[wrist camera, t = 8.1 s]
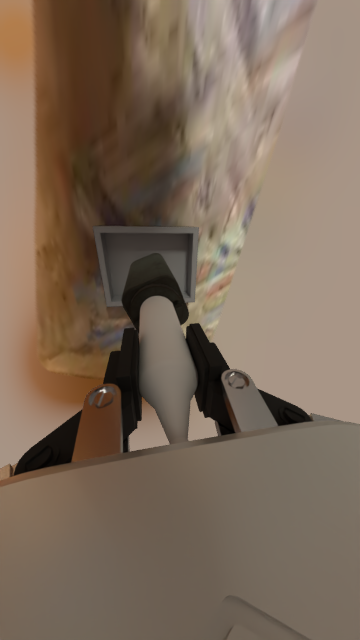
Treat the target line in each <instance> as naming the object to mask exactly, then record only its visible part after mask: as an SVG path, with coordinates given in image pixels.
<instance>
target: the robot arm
mask: <svg viewBox="0 0 360 640" xmlns="http://www.w3.org/2000/svg"><path fill="white" fill-rule="evenodd" d="M186 342H187V344H188V347H189V350H190V353H191V355H192V358H193V361H194V364H195V366H196V369H197V372H198V386H197V388H196V391H195V393H194V395H195V398H196V402H197V405H198V408H199V411H200V412H202V411H203V414H204V417H205V418H207V417H210V418H212V419H213V420H215V426H216V429H217V433H218V436H217V437H211V438H205V439H200V440H194V441H188V442H182V443H176V444H171V445H165V446H159V447H153V448H148V449H142V450H137V451H131V452H130V449H129V435H130V434H131V433H132V432H133V431H134V430H135V429H137V421H141V419H142V417H141V415H142V396H141V394H140V391H139V336H138V330H134V328H126V329H124V334H123V339H122V345H121V351H112V352H111V353H110V357H109V361H108V365H107V369H106V373H105V377H104V382H103V384H102V385H99V386H97V387H95V388H93V389H92V390H91V391H90V392H89V393H88V394H87V395H86V398H85V401H84V405H83V409H82V410H81V411H79V412H78V413H77V414H75V415H74V416H73V417H72V418H70V419H69V420H67V421H66V422H65V423H63V424H62V425H61V426H60V427H58V428H57V429H56V430H54V431H53V432H52V433H50V434H49V435H47V436H46V437H45V438H43V439H42V440H41V441H39V442H38V443H37V444H35V445H34V446H33V447H31V448H30V449H29V450H28V451H27V452H26V453H25V454H24V455H23V456H22V458H21V459H20V460H19V462H18V463H17V464H15V465H13V466H11V465H10V464H8V465H6V466H4V467H2V468H1V469H0V640H360V424H356V423H351V422H344V421H340V420H336V419H332V418H328V417H324V416H320V415H316V414H312V413H311V414H310V416H309V415H308V414H307V413H306V412H305V411H303V410H302V409H301V408H299V407H297V406H295V405H293V404H291V403H288V402H286V401H284V400H282V399H280V398H277V397H275V396H273V395H271V394H268V393H266V392H264V391H262V390H259V389H257V387H256V386H255V384H254V382H253V381H252V379H251V377H250V376H249V375H248V374H246V373H245V372H243V371H240V370H237V369H230V368H229V366H228V365H227V363H226V361H225V360H224V358H223V356H222V354H221V353H220V351H219V349H218V348H217V346H216V344H215V343H210V342H209V340H208V339H207V337H206V335H205V333H204V331H203V329H202V328H201V326H200V324H199V323H195V324H190V325H189V326H187V328H186Z"/></svg>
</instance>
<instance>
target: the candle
mask: <svg viewBox="0 0 360 640" xmlns="http://www.w3.org/2000/svg"><path fill="white" fill-rule="evenodd" d="M121 301H122V305H123V307H124V309H125V311H126V312H127V314H128V316H129V317H130V319H131V321H132V323H133V324H134V326H135V328H136V330H138V333H139V391H140V394H141V396H142V397H143V398H144V399H145V400H146V401H147V402H148V403H149V404H150V405H151V406H152V407H153V408H154V409H155V411H156V413H157V415H158V417H159V420H160V422H161V424H162V427H163V428H164V431H165V434H166V436H167V438H168V440H169V443H170V445H171V444H176V443H182V442H188V426H189V413H190V401H191V399H192V397H193V395H194V393H195V391H196V388H197V386H198V372H197V369H196V366H195V364H194V361H193V358H192V355H191V353H190V350H189V347H188V344H187V342H186V339H185V336H184V333H183V331H182V328H181V325H182V324H184V323H185V322H186V321H187V319H188V316H189V312H188V308H187V306H186V303H185V300H184V298H183V295H182V293H181V290H180V287H179V285H178V283H177V281H176V279H175V277H174V275H173V274H172V272H171V270H170V268H169V267H168V265H167V263H166V261H165V260H164V258H163V256H162V255H161V254H159V253H153V254H150V255H148V256H145V257H143V258H141V259H138V260H136V261H134V262H132V264H131V265H130V269H129V273H128V276H127V280H126V284H125V287H124V291H123V295H122V299H121Z"/></svg>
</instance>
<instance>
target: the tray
mask: <svg viewBox="0 0 360 640" xmlns="http://www.w3.org/2000/svg"><path fill="white" fill-rule="evenodd" d="M93 231H94V237H95V242H96V248H97V253H98V259H99V265H100V270H101V276H102V281H103V287H104V293H105V298H106V304H107V307H112V306H123V305H122V301H121V299H122V295H123V291H124V287H125V284H126V280H127V276H128V273H129V269H130V265H131V264H132V262H134V261H136V260H138V259H141V258H143V257H145V256H148V255H150V254H153V253H159V254H161V255H162V256H163V258H164V260H165V261H166V263H167V265H168V267H169V268H170V270H171V272H172V274H173V275H174V277H175V279H176V281H177V283H178V285H179V287H180V290H181V293H182V295H183V298H184V300H185V303H187V302H195V288H196V270H197V252H198V234H199V227H169V226H93Z"/></svg>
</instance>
